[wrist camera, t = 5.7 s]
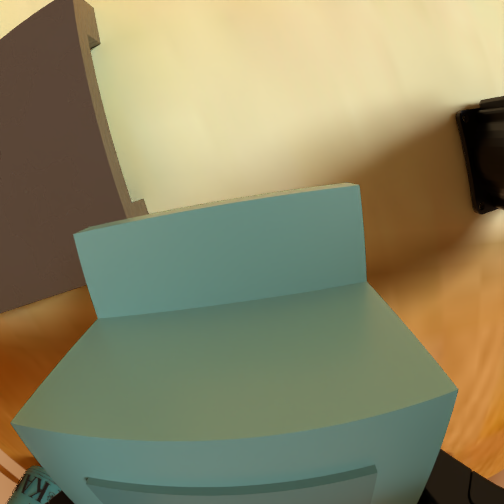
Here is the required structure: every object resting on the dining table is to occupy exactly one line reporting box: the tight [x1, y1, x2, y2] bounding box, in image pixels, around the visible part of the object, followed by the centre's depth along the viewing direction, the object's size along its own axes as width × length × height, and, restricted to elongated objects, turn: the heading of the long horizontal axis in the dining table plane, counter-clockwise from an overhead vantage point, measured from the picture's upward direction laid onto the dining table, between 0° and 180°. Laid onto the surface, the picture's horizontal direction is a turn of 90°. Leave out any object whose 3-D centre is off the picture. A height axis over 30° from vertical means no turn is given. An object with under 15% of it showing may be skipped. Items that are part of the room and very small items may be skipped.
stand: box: [0, 0, 148, 313], centre depth 15 cm, size 16×16×3 cm
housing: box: [11, 183, 458, 504], centre depth 6 cm, size 12×6×5 cm, turn 9°
